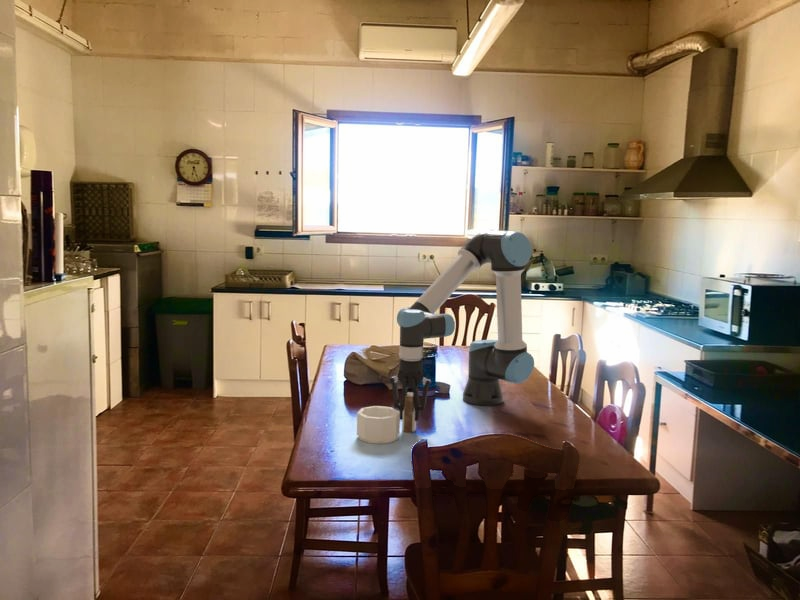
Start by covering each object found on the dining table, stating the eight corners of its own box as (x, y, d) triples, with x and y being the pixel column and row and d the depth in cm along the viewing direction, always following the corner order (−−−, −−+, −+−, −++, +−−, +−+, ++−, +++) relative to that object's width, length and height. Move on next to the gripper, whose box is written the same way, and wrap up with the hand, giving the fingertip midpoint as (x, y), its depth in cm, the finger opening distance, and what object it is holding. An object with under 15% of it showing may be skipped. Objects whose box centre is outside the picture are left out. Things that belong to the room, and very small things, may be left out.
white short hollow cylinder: (401, 432, 208) (402, 408, 207) (393, 445, 196) (393, 420, 195) (364, 428, 211) (364, 404, 210) (353, 441, 199) (353, 416, 198)
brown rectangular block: (414, 428, 212) (415, 392, 211) (411, 432, 208) (412, 396, 206) (406, 427, 213) (407, 392, 211) (403, 432, 208) (404, 395, 207)
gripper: (437, 357, 209) (434, 428, 212) (390, 354, 212) (388, 423, 215) (433, 362, 202) (430, 435, 205) (384, 359, 205) (382, 430, 208)
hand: (408, 429), depth 210 cm, fingers closed on brown rectangular block, 2 cm apart
